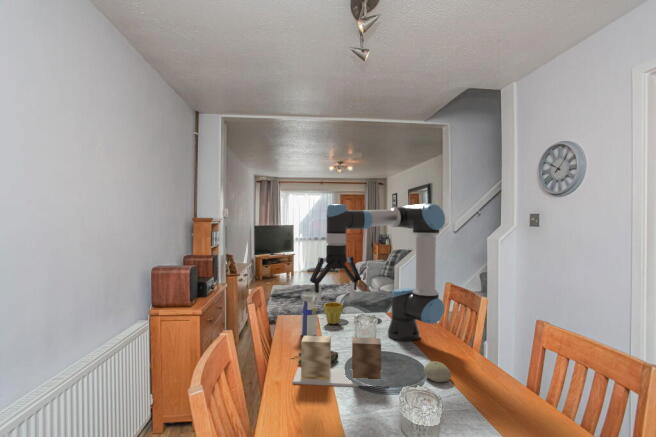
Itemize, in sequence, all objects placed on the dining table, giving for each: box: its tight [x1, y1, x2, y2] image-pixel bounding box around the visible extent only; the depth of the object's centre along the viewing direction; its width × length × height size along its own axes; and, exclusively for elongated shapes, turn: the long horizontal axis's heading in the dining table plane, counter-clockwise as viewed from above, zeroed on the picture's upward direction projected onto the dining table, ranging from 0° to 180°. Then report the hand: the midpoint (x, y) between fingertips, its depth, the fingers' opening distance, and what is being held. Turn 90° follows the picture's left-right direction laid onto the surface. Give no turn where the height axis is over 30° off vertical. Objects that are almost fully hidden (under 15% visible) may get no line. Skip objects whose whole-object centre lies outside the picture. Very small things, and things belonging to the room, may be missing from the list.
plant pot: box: [323, 301, 344, 325], centre depth 185 cm, size 10×10×10 cm
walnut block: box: [351, 336, 382, 379], centre depth 119 cm, size 10×6×13 cm, turn 85°
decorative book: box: [290, 350, 339, 366], centre depth 134 cm, size 13×18×5 cm
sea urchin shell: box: [423, 360, 452, 383], centre depth 119 cm, size 9×8×8 cm
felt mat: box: [292, 366, 359, 387], centre depth 119 cm, size 33×11×1 cm, turn 85°
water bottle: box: [300, 284, 318, 337], centre depth 166 cm, size 8×8×25 cm
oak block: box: [300, 335, 332, 379], centre depth 120 cm, size 10×6×13 cm, turn 85°
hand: (335, 300), depth 127 cm, fingers open, 13 cm apart
